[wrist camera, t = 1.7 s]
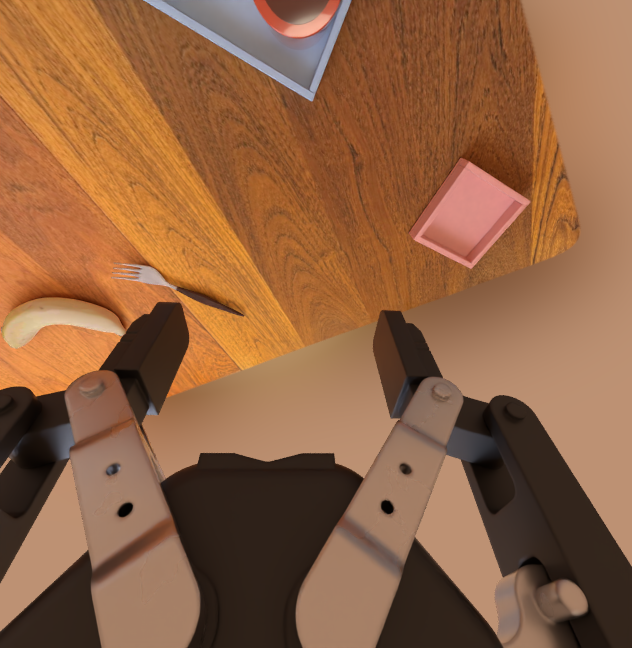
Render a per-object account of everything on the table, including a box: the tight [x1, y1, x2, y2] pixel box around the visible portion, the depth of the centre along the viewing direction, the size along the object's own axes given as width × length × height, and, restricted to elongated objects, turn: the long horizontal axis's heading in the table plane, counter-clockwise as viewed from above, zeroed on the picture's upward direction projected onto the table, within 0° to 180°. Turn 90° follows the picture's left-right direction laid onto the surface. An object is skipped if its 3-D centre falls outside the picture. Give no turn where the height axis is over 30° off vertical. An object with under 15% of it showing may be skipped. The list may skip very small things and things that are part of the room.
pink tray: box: [409, 158, 531, 269], centre depth 33 cm, size 9×9×2 cm
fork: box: [111, 263, 244, 316], centre depth 38 cm, size 3×16×2 cm, turn 60°
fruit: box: [1, 297, 126, 349], centre depth 40 cm, size 7×15×3 cm, turn 94°
